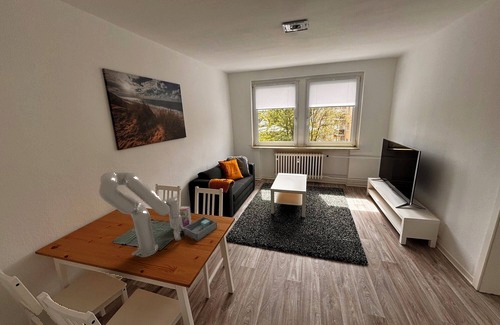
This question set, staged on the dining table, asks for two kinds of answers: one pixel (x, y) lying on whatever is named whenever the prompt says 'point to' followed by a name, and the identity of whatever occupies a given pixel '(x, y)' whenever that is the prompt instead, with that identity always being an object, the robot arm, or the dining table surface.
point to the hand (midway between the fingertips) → (178, 234)
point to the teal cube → (205, 224)
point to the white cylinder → (177, 235)
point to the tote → (199, 229)
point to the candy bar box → (185, 215)
